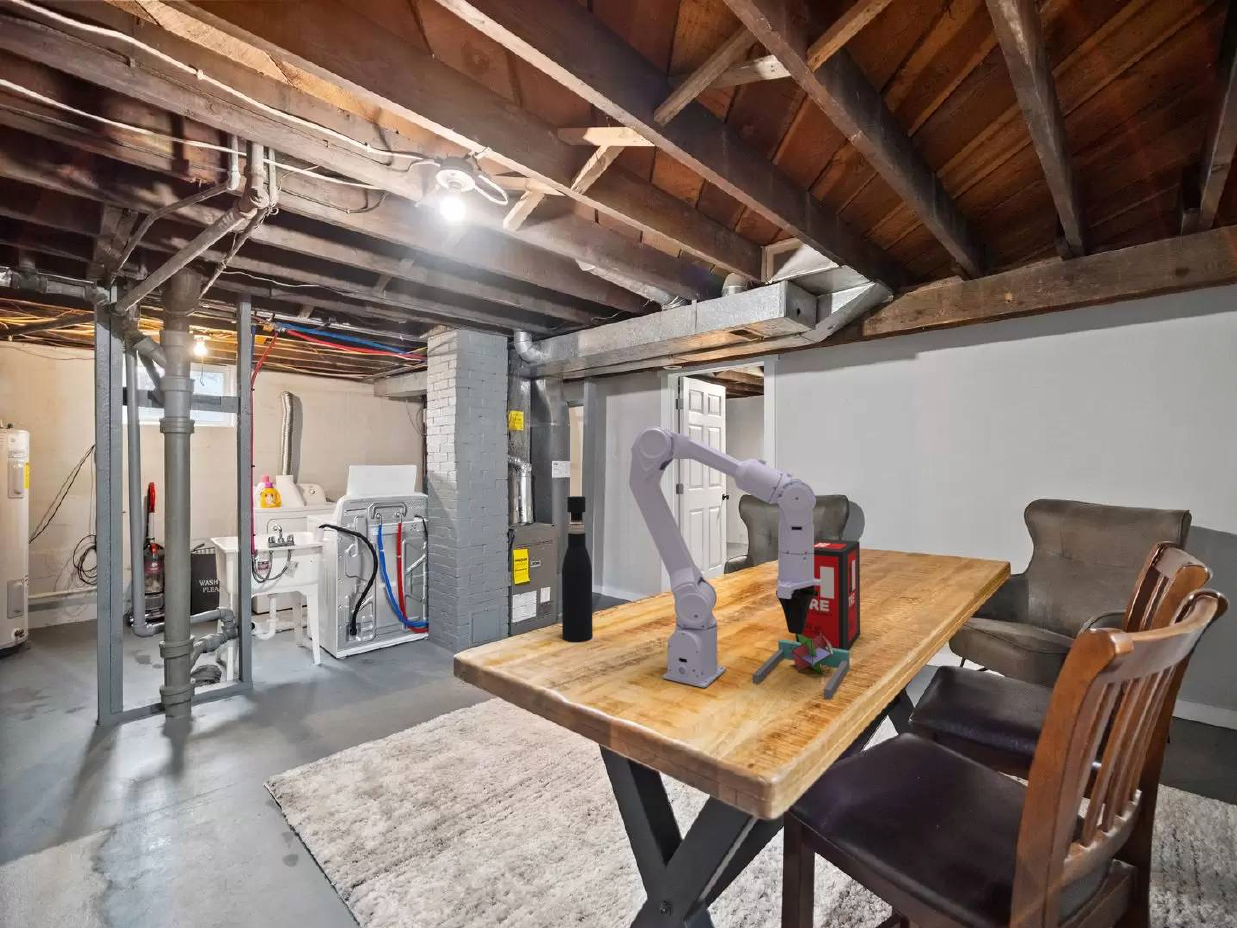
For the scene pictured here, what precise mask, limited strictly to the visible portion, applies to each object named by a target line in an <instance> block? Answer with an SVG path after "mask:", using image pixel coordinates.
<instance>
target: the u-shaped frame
mask: <svg viewBox="0 0 1237 928" xmlns="http://www.w3.org/2000/svg"><path fill="white" fill-rule="evenodd" d="M792 643H794V644H792ZM800 645H801V644H800V642H796V641H795V640H794V641H793V640H787V639H783V638H781V639H779V640H778V649H777V650H775V652H774V653H773V654H772V655H771V656H770V657H769V658H767V660H766V661H765V662H764V663H763V664H762V665H760V667H759V668H757V669H756V670H755V672H753V674H752V684H754V683H756V685H760V684H761V683H762V682H763V680H765V679H766V678H767V676H768V675H769V674H771V672H772V671H773V670H774V669H775V668H776V667H777V666H778V665H779V664H780V663H781V662H782V661H783V660H784V659H786V658H788V659H787V660H791V659H793V660H792V661H794V658H793V655H792V654H791V653H789V651H791V650H793V649H795V648H796V647H798V646H800ZM792 646H793V647H792ZM790 648H791V649H790ZM826 650H827V652H828V649H827V647H826ZM832 650H833V654H830V655H829V656H827V657H825V658H824V659H822V660H820V661H819V663H820V664H821V665H820V666H823V665H827V666H826V667H829V666H830V667H829V668H835V670H834V672H833V674H832V676H830V679H829V680H828V681H827V683H826V685H825V687H824V688H823V699H824V700H829V701H831V700H832V698H833V697H834V694H835V693H836V691H837V690H838V688H839V686H840V685H841V682H842V681H843V679H844V678H845V676H846V674H847V673H848V671H849V669H850V668H851V665H850V660H851V659H850V650H849V651H848V650H842V649H836V648H832ZM826 659H827V660H826ZM781 660H782V661H781ZM828 660H829V661H828ZM780 661H781V662H780ZM779 662H780V663H779ZM778 663H779V664H778ZM825 663H826V664H825ZM777 664H778V665H777ZM776 665H777V666H776ZM775 666H776V667H775ZM773 668H774V669H773ZM772 669H773V670H772ZM771 670H772V671H771ZM770 671H771V672H770ZM767 674H768V675H767ZM766 675H767V676H766ZM761 681H762V682H761ZM760 682H761V683H760ZM759 683H760V684H759Z"/></svg>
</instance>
